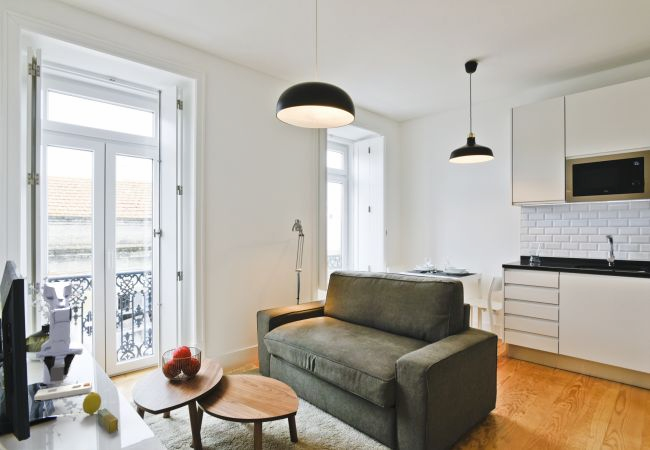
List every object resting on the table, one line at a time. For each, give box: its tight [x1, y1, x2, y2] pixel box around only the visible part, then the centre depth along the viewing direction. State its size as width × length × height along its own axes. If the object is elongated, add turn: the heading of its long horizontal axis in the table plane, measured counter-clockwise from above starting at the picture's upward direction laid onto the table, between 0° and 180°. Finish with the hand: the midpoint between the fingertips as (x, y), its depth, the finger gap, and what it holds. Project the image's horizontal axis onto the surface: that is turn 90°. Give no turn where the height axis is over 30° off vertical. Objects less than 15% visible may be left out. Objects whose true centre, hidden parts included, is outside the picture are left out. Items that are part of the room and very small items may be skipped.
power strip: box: [33, 381, 93, 401], centre depth 144 cm, size 7×18×4 cm, turn 119°
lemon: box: [82, 391, 102, 416], centre depth 127 cm, size 6×6×8 cm
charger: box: [50, 364, 68, 386], centre depth 138 cm, size 5×4×7 cm
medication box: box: [96, 407, 119, 434], centre depth 120 cm, size 12×3×4 cm, turn 49°
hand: (59, 375), depth 138 cm, fingers closed on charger, 4 cm apart
